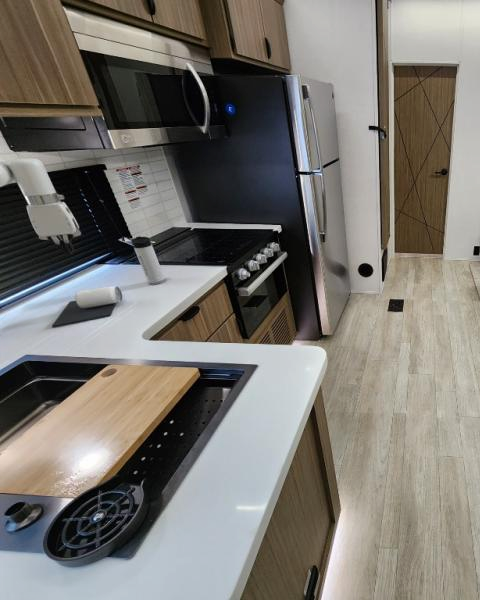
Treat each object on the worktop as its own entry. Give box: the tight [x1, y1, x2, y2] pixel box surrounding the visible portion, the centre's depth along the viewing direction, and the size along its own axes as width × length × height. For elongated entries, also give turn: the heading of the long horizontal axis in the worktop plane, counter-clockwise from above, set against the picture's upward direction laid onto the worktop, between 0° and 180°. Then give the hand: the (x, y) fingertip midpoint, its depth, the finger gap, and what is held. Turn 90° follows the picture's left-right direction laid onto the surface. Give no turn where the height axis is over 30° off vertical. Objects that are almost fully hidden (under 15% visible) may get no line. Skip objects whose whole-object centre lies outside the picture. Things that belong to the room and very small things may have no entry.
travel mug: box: [130, 235, 166, 286], centre depth 141 cm, size 6×7×20 cm
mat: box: [51, 300, 117, 329], centre depth 124 cm, size 16×20×1 cm
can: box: [74, 286, 123, 308], centre depth 125 cm, size 6×6×12 cm
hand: (69, 253), depth 115 cm, fingers closed
